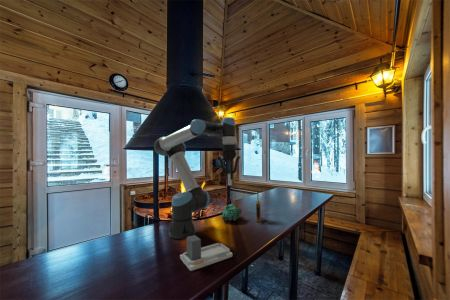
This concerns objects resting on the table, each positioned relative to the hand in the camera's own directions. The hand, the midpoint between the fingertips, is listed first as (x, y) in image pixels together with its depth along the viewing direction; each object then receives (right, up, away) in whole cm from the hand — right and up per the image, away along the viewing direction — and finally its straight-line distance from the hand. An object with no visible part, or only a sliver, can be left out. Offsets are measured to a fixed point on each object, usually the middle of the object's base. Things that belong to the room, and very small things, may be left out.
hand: (229, 185), depth 113 cm
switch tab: (-16, -26, -29) cm, 42 cm away
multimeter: (+24, -29, +22) cm, 44 cm away
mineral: (+2, -30, +27) cm, 40 cm away
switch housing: (-11, -28, -26) cm, 39 cm away
